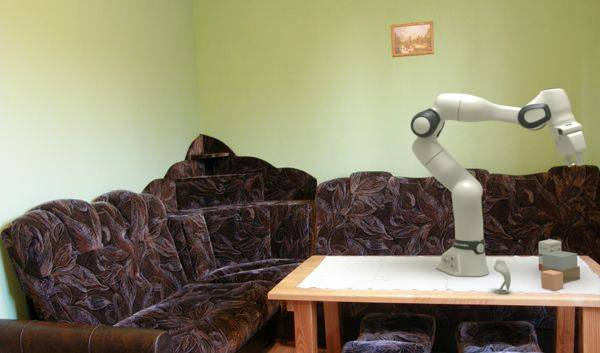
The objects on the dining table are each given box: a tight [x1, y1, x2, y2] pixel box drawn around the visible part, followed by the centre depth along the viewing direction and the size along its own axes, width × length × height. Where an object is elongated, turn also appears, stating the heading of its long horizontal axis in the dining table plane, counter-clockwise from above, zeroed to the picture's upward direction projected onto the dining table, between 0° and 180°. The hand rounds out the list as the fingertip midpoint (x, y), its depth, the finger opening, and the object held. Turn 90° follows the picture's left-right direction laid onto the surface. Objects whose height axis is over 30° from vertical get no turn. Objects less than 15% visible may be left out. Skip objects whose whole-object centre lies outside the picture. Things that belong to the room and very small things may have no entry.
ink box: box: [538, 238, 562, 271], centre depth 199 cm, size 8×5×12 cm, turn 120°
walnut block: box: [540, 265, 581, 285], centre depth 185 cm, size 9×10×5 cm
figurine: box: [493, 258, 512, 294], centre depth 172 cm, size 8×5×12 cm
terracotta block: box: [540, 270, 564, 292], centre depth 174 cm, size 5×5×6 cm
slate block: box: [542, 250, 578, 270], centre depth 185 cm, size 8×9×5 cm
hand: (575, 166), depth 177 cm, fingers open, 8 cm apart
